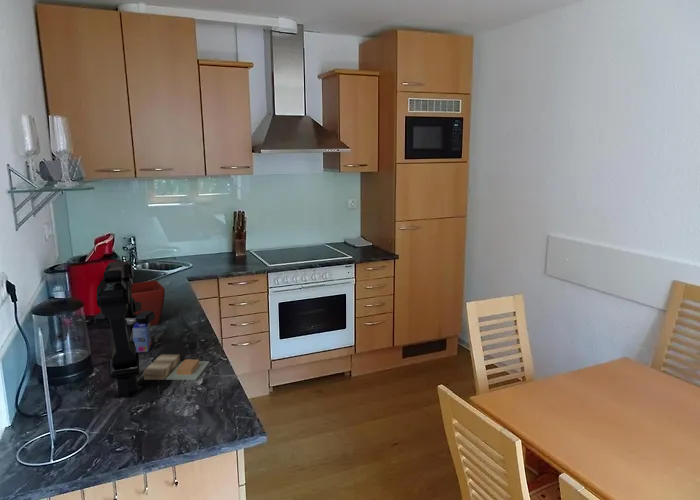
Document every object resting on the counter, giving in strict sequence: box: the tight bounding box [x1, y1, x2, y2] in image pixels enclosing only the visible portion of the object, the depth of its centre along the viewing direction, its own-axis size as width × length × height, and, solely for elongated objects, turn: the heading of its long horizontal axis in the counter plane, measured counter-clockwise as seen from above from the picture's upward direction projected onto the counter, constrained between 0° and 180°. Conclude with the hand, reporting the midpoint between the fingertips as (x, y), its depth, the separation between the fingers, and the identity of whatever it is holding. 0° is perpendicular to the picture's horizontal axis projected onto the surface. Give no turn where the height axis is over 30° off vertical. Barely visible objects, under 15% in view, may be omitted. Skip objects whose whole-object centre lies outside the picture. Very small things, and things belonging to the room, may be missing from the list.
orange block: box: [177, 359, 200, 375], centre depth 173 cm, size 8×5×2 cm, turn 178°
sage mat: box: [165, 360, 210, 381], centre depth 173 cm, size 14×10×1 cm
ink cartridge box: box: [132, 323, 152, 353], centre depth 192 cm, size 10×6×14 cm, turn 15°
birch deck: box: [143, 353, 181, 381], centre depth 173 cm, size 14×7×3 cm, turn 177°
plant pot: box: [131, 280, 166, 327], centre depth 220 cm, size 19×19×17 cm
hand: (127, 340), depth 170 cm, fingers closed
